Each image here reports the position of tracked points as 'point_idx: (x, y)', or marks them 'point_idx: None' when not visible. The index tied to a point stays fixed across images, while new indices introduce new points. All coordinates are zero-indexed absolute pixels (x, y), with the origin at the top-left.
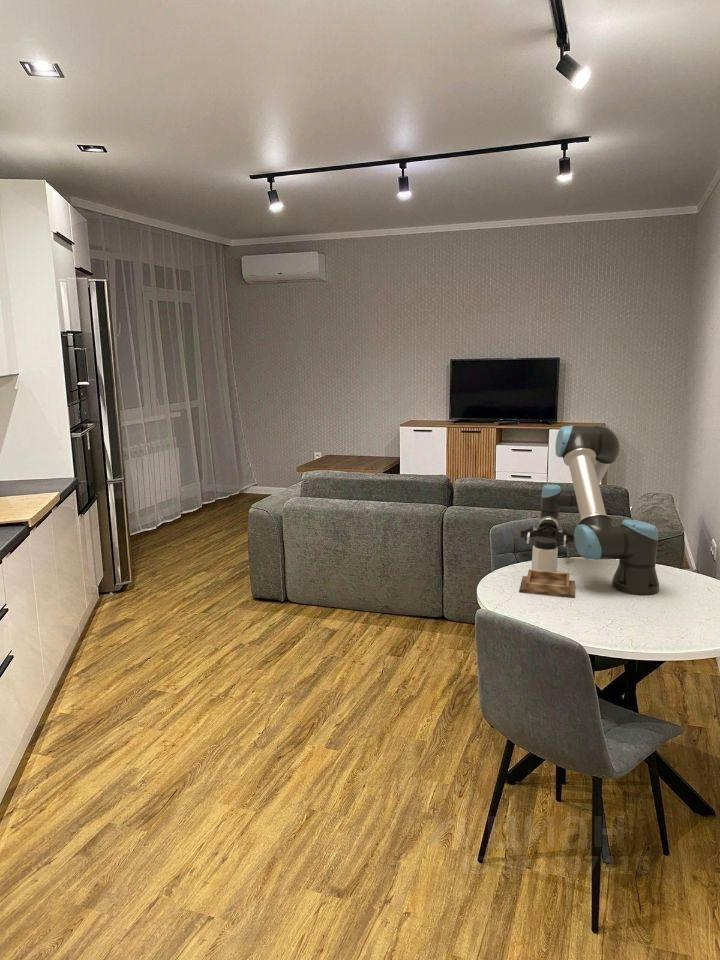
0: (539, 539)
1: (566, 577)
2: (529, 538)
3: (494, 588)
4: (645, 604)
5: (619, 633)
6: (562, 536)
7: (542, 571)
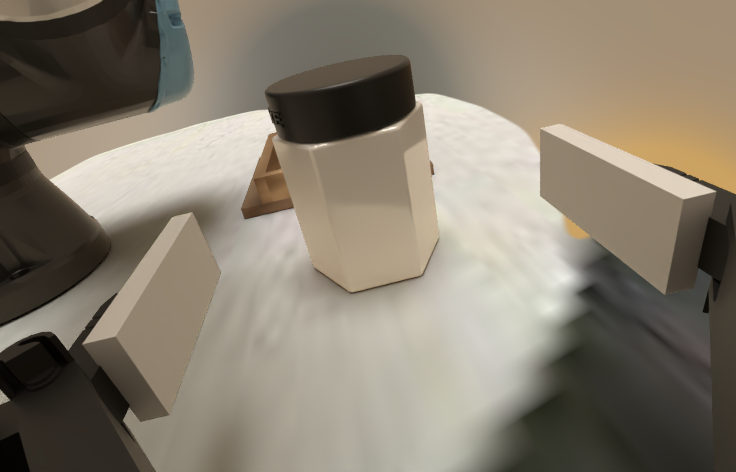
0: (375, 62)
1: (269, 159)
2: (612, 225)
3: (472, 119)
4: (86, 209)
5: (210, 132)
6: (129, 443)
7: None
